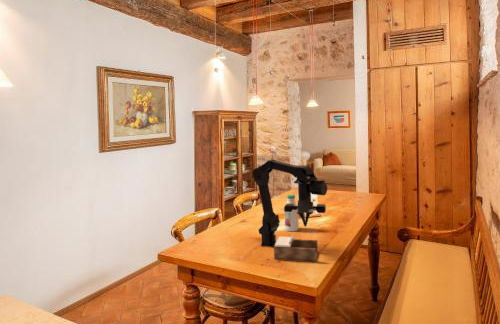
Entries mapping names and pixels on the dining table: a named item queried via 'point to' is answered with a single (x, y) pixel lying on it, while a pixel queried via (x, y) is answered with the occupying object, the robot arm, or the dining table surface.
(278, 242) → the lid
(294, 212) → the milk bottle
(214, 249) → the dining table surface
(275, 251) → the box
